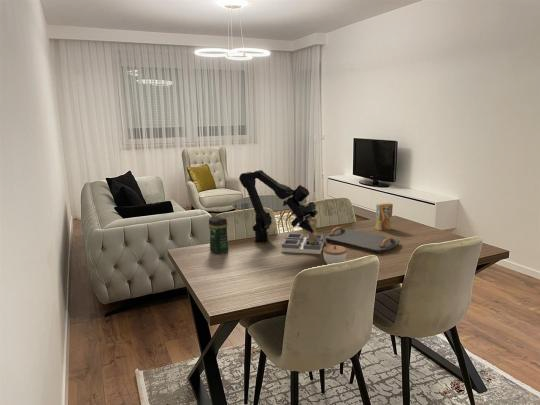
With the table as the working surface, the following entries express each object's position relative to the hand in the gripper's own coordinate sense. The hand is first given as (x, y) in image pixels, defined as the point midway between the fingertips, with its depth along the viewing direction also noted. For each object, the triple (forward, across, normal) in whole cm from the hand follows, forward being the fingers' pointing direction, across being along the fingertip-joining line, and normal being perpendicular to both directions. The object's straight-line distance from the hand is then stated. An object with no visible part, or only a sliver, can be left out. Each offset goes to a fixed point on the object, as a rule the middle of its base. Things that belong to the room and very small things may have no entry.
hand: (314, 231), depth 210 cm
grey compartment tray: (+2, +3, +13) cm, 14 cm away
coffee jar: (-21, -27, +37) cm, 50 cm away
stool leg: (+4, 0, +6) cm, 8 cm away
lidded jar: (+20, -12, -4) cm, 23 cm away
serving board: (+18, +25, -3) cm, 31 cm away
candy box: (+19, +57, -4) cm, 60 cm away
